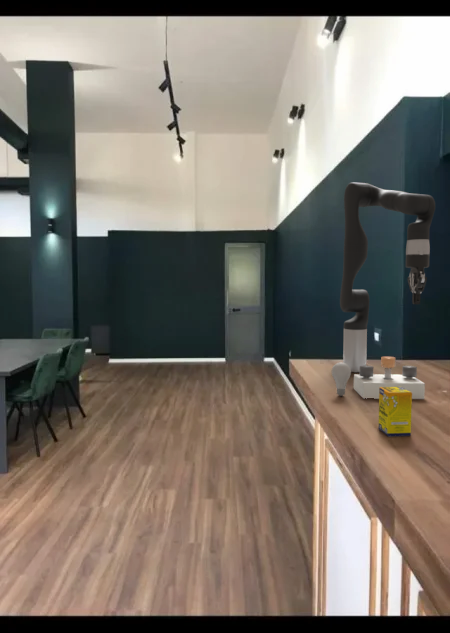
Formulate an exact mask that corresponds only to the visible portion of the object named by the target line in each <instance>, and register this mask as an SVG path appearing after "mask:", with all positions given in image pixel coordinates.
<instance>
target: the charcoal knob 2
mask: <svg viewBox="0 0 450 633" xmlns="http://www.w3.org/2000/svg"><path fill="white" fill-rule="evenodd" d="M401 370H402V373H401V374H402V376H405V377H406V380H413V377H415V378H416V377H417V374H418V368H417V366H416V365H415V366H414V365H402V369H401Z"/></svg>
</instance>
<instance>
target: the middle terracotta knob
mask: <svg viewBox="0 0 450 633" xmlns="http://www.w3.org/2000/svg"><path fill="white" fill-rule="evenodd" d="M380 358H381V359H380V367H381V368H384V374H385V380H391V374H392V368H396V356H395V357H394V356H381V357H380Z"/></svg>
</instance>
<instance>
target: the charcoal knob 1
mask: <svg viewBox="0 0 450 633" xmlns="http://www.w3.org/2000/svg"><path fill="white" fill-rule="evenodd" d="M358 373H359V375H360V376H362V377H363V379H369V377H373V374H374V366H373V365H367V364H366V365H363V366H360V371H359V372H358Z"/></svg>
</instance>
